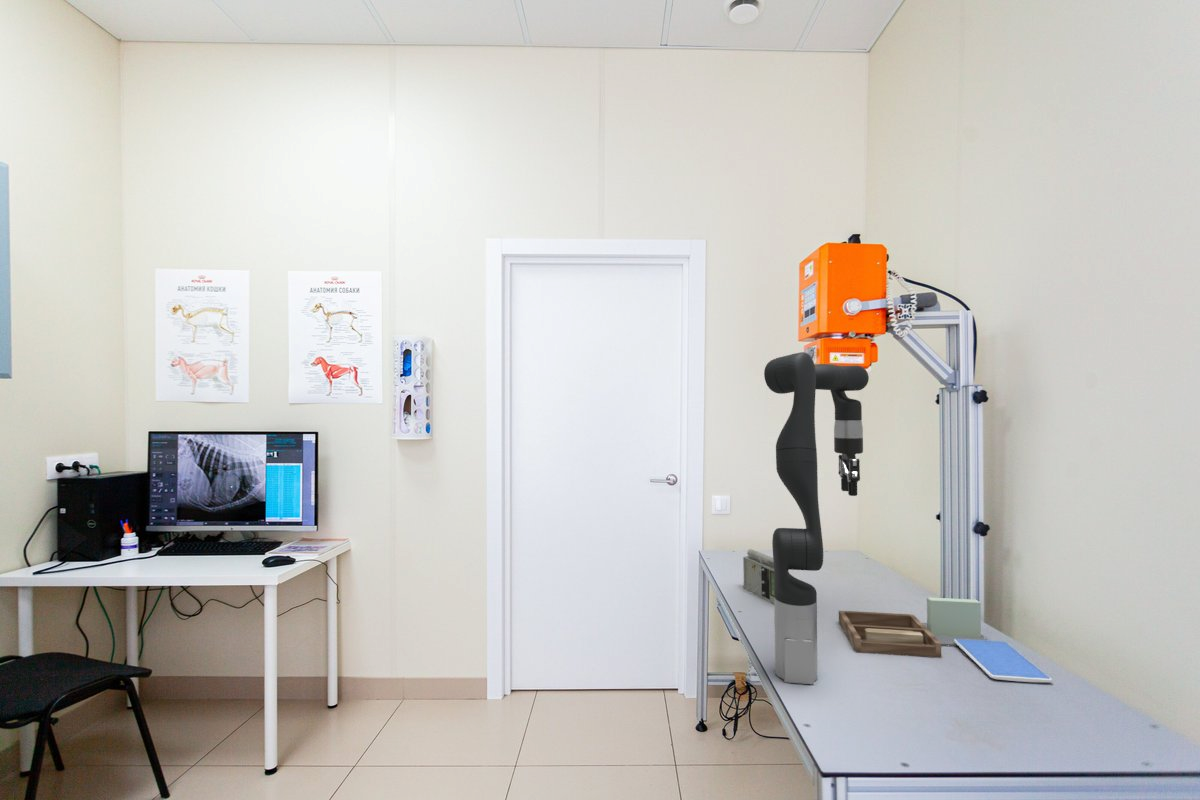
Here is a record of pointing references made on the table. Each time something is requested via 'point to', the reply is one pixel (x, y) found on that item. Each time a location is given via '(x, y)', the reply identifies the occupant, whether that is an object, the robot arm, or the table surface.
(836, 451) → the robot arm
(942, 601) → the tall block
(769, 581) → the geiger counter
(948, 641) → the mat
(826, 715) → the table surface
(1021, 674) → the tablet computer
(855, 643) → the storage rack
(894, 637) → the offcut stack
